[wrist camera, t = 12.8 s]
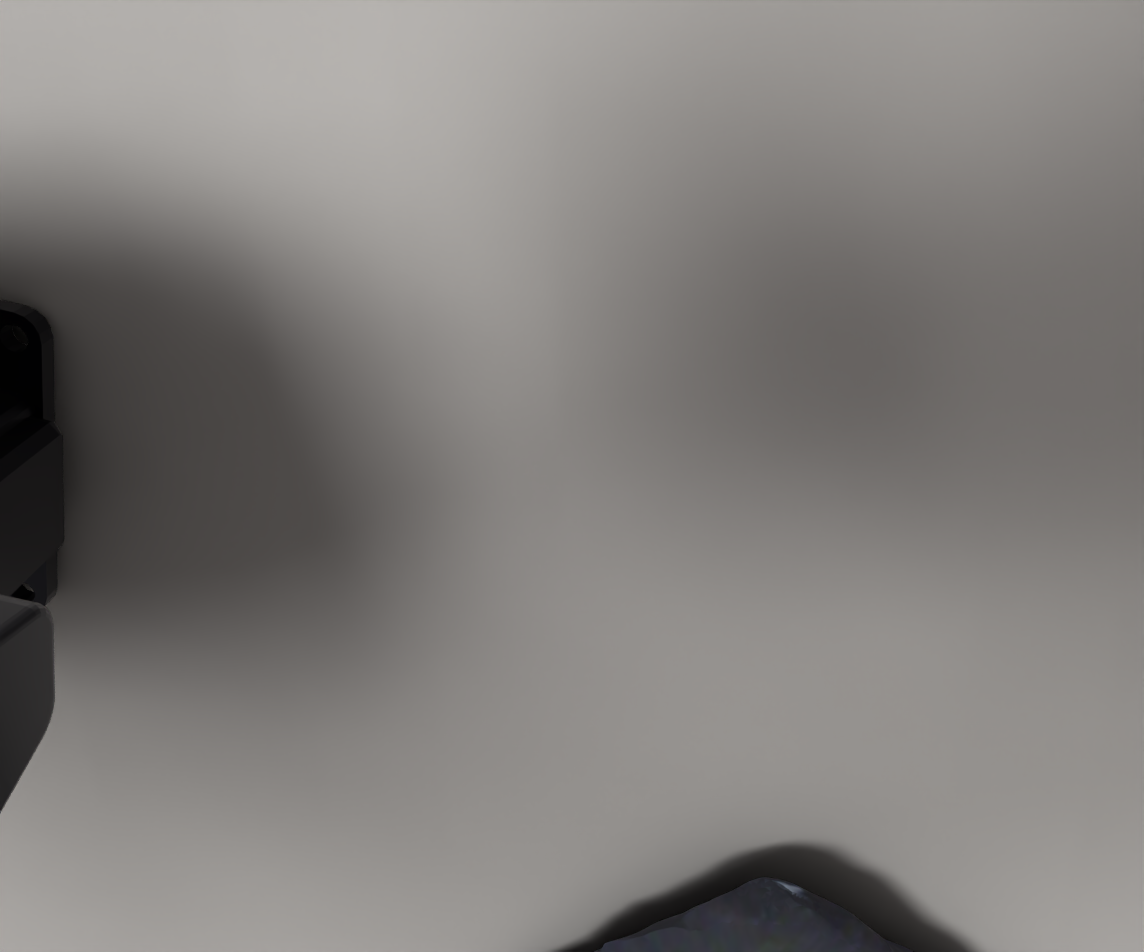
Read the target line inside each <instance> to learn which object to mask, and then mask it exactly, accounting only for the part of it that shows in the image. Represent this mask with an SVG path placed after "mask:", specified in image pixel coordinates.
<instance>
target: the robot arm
mask: <svg viewBox="0 0 1144 952" xmlns="http://www.w3.org/2000/svg"><path fill="white" fill-rule="evenodd" d="M13 325H15V326H17V327H19V328H21V329H22V330H23V332H24V333H25V334H26V336H27V339H28V345H26V344H24V343H22V342H20V341H19V340H18V339H17V338H16V337H15V336H14V333H13V330H12V326H13ZM63 542H64V491H63V436H62V434H61V432H60V430H59V428H58V426H57V424H56V423H55V412H54V350H53V334H52V329H51V326H50V325H49V323H48V322H47V320H46V318H45V317H44V316H43V315H41V314H40V313H39V312H38V311H37V310H35V309H33V308H30V307H28V306H26V305H21V304H17V303H13V302H8V301H4V300H0V813H1V811H2V809H3V808H4V806H5V804H6V802H7V801H8V799H9V797H10V795H11V793H12V792H13V790H14V788H15V786H16V784H17V783H18V781H19V779H20V777H21V776H22V774H23V772H24V770H25V768H26V767H27V765H28V763H29V761H30V760H31V758H32V756H33V754H34V752H35V751H36V749H37V747H38V745H39V743H40V742H41V740H42V738H43V736H44V734H45V732H46V730H47V728H48V725H49V723H50V720H51V716H52V713H53V708H54V702H55V675H54V626H53V619H52V616H51V614H50V611H49V610H48V609H47V608H46V607H45V605H46V604H47V603H48V602H49V601H50V600H51V599H52V598H53V597H54V596H55V595H56V591H57V550H58V549H59V548H60V547H61V546H62V544H63ZM23 583H26V584H28V585H29V586H30V587H31V588H32V589H33V590H34V592H32V591H29V590H27V589H26V588H25V587H24V586H23Z"/></svg>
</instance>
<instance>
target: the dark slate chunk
mask: <svg viewBox="0 0 1144 952" xmlns="http://www.w3.org/2000/svg"><path fill="white" fill-rule="evenodd" d="M594 952H913V951H912V950H910V949H908V948H906V947H904V946H902V945H899V944H897V943H893V942H890V941H888V940H886V939H883V938H882V937H881V936H880V935H879V934H877V933H876V932H875V931H874V930H872V929H871V928H870V927H869V926H867V925H866V924H865V923H863V922H862V921H861V920H860V919H858V918H857V917H856V916H855V915H853V914H852V913H851V912H849V911H847V910H846V909H844V908H842V907H840V906H838V905H836V904H834V903H832V902H830V901H828V900H826V899H824V898H822V897H820V896H818V895H815V894H813V893H811V892H809V891H807V890H805V889H803V888H801V887H800V886H798V885H795V884H793V883H791V882H788V881H785V880H780V879H774V878H769V877H761V878H757V879H754V880H751V881H749V882H747V883H745V884H743V885H741V886H740V887H738V888H736V889H734V890H732V891H730V892H728V893H725V894H723V895H720V896H718V897H716V898H714V899H712V900H710V901H708V902H705V903H703V904H700V905H698V906H695V907H693V908H691V909H689V910H688V911H686V912H684V913H682V914H678V915H675V916H672V917H670V918H667V919H664V920H661V921H659V922H656V923H654V924H652V925H650V926H649V927H647V928H645V929H643V930H641V931H639V932H637V933H635V934H632V935H630V936H627V937H624V938H620V939H616V940H613V941H610V942H607V943H604V945H603V948H601V949H599V950H596V951H594Z"/></svg>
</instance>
